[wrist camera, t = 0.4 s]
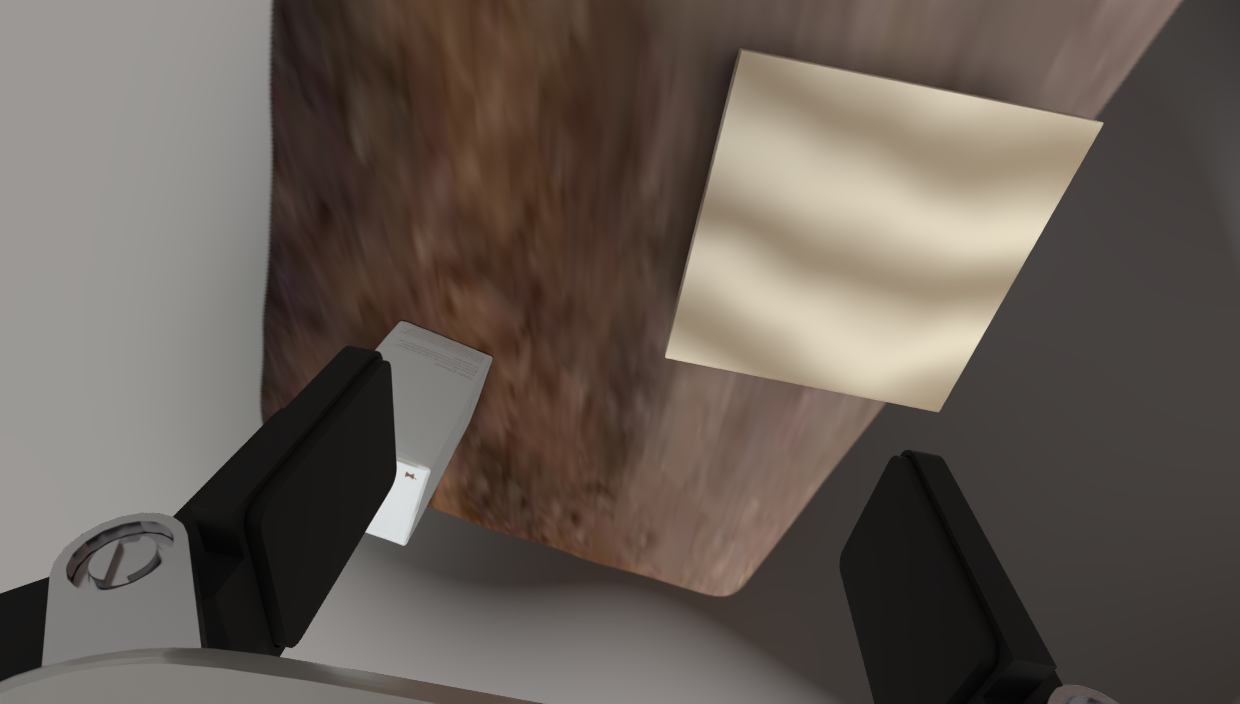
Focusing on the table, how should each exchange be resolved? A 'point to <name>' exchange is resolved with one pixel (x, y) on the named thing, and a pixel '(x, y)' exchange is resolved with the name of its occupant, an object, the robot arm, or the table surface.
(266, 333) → the table surface
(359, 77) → the table surface
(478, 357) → the supplement box
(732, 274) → the footstool
